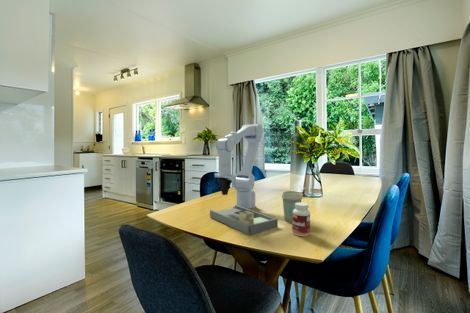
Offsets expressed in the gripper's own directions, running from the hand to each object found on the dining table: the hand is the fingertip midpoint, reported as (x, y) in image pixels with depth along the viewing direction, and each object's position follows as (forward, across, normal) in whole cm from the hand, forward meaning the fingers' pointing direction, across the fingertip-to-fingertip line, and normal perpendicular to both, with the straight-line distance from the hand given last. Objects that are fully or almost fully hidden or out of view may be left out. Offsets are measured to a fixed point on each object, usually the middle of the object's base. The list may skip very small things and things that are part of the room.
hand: (224, 194), depth 113 cm
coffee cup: (+10, +24, +18) cm, 31 cm away
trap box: (+9, +12, 0) cm, 15 cm away
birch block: (+7, +20, -4) cm, 22 cm away
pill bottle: (+10, +36, +9) cm, 38 cm away
